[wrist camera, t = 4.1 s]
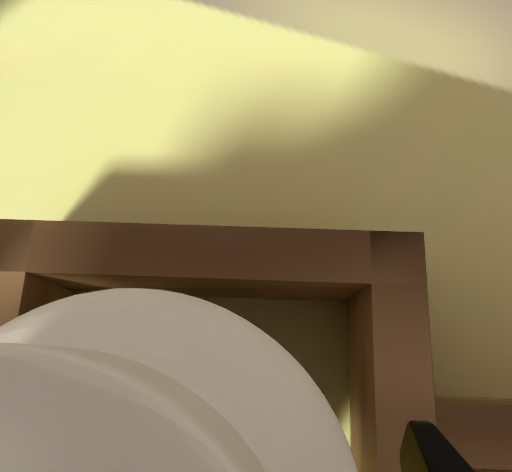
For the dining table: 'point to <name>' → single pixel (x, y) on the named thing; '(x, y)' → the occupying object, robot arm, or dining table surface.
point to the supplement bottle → (157, 391)
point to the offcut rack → (279, 287)
